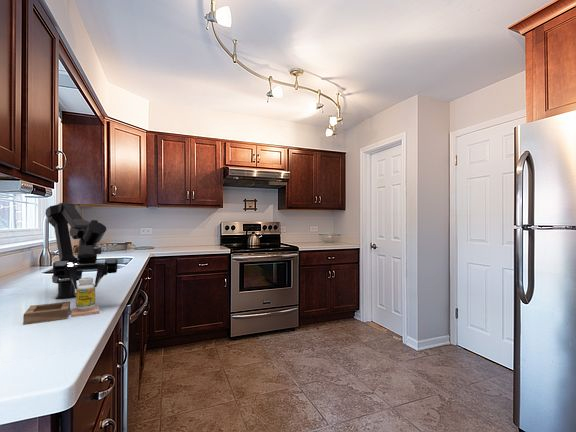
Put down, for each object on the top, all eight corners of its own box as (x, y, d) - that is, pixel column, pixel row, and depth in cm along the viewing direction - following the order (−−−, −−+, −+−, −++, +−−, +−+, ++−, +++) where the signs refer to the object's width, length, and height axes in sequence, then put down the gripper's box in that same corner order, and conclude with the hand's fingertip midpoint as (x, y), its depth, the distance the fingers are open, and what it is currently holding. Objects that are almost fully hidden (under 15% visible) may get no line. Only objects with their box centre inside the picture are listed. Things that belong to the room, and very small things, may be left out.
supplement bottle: (94, 303, 108) (95, 276, 108) (95, 307, 103) (95, 279, 103) (76, 306, 105) (76, 278, 105) (75, 310, 100) (76, 280, 100)
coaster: (72, 311, 105) (72, 308, 105) (98, 307, 109) (98, 305, 109) (71, 316, 98) (71, 314, 98) (98, 313, 102) (98, 310, 102)
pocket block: (30, 314, 100) (30, 305, 100) (70, 310, 106) (70, 301, 106) (23, 324, 91) (23, 314, 91) (67, 318, 96) (67, 309, 97)
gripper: (54, 237, 103) (48, 275, 93) (117, 236, 112) (118, 270, 103) (56, 257, 109) (51, 295, 100) (116, 255, 119) (117, 289, 109)
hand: (85, 287), depth 103 cm, fingers closed on supplement bottle, 5 cm apart
